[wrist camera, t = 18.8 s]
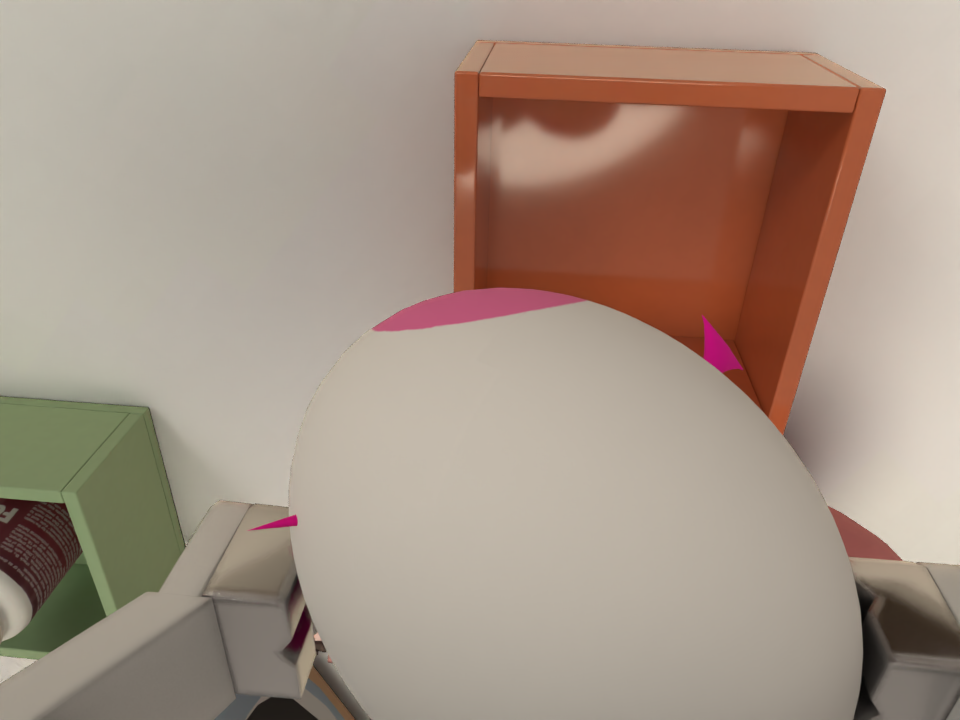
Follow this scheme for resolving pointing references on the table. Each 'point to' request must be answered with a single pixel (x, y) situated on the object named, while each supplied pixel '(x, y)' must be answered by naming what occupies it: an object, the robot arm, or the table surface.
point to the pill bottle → (32, 558)
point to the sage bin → (90, 508)
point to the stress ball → (563, 525)
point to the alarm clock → (290, 705)
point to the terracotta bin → (664, 188)
